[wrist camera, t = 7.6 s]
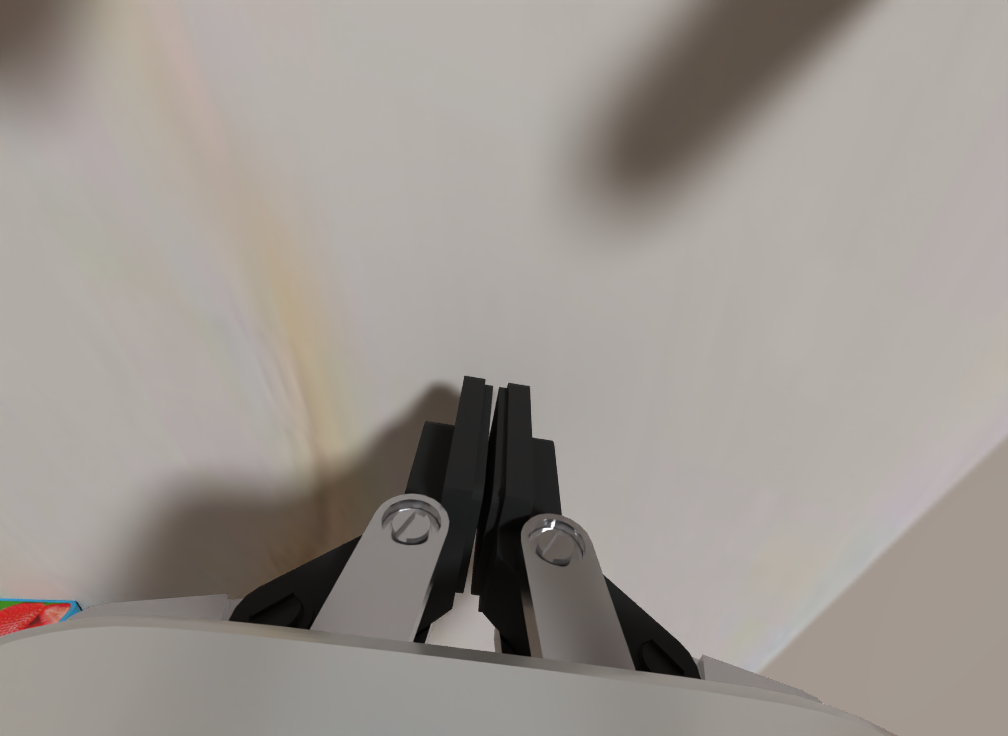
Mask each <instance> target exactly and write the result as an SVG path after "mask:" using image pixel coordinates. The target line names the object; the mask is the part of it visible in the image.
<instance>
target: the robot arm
mask: <svg viewBox="0 0 1008 736" xmlns="http://www.w3.org/2000/svg"><path fill="white" fill-rule="evenodd" d="M492 392H493V386H490V385H485V379H482V378H476V377H469V376H464V381H463V386H462V392H461V397H460V402H459V407H458V413H457V418H456V423H455V426H454V425H447V424H441V423H434V422H428V421H426V422H425V424H424V427H423V431H422V434H421V438H420V442H419V445H418V449H417V452H416V456H415V459H414V463H413V466H412V470H411V473H410V477H409V480H408V484H407V487H406V491H405V494H402V495H399V496H396V497H393V498H390V499H389V500H387V501H386V502H384V503H383V504H382V505H381V506H380V507H379V508H378V509H377V511H376V512H375V514H374V516H373V517H372V519H371V521H370V523H369V525H368V526H367V528H366V530H365V532H364V533H363V535H361V536H359V537H357V538H355V539H353V540H351V541H349V542H347V543H345V544H343V545H341V546H339V547H337V548H336V549H334V550H332V551H330V552H328V553H326V554H324V555H322V556H320V557H318V558H316V559H314V560H312V561H310V562H308V563H306V564H304V565H302V566H300V567H298V568H296V569H294V570H292V571H290V572H288V573H286V574H284V575H282V576H280V577H278V578H276V579H274V580H272V581H270V582H268V583H266V584H265V585H263V586H261V587H259V588H257V589H256V590H254V591H253V592H251V593H250V594H248V595H247V596H246V597H245V598H243V599H231V600H229V594H216V595H203V596H191V597H178V598H165V599H153V600H140V601H127V602H115V603H106V604H102V605H97V606H92V607H89V608H87V609H85V610H83V611H80V612H78V613H76V614H74V615H72V616H70V617H69V618H68V619H66V620H65V621H63V622H58V623H53V624H48V625H43V626H38V627H34V628H29V629H24V630H20V631H17V632H13V633H10V634H6V635H3V636H0V736H897V735H895V734H893V733H891V732H889V731H887V730H885V729H883V728H881V727H879V726H877V725H875V724H873V723H871V722H869V721H867V720H865V719H863V718H861V717H858V716H856V715H853V714H851V713H848V712H845V711H843V710H840V709H837V708H835V707H832V706H830V705H826V704H823V703H822V702H821V701H819V700H818V699H817V698H816V697H814V696H812V695H810V694H808V693H806V692H804V691H802V690H800V689H797V688H794V687H791V686H789V685H786V684H783V683H780V682H778V681H775V680H772V679H769V678H766V677H763V676H761V675H758V674H755V673H753V672H750V671H747V670H744V669H741V668H739V667H736V666H733V665H730V664H727V663H725V662H722V661H719V660H716V659H713V658H711V657H708V656H705V655H702V657H701V658H700V660H699V659H696V658H693V657H691V655H690V653H689V652H688V651H687V650H686V649H685V648H684V646H683V645H682V644H681V643H680V642H679V641H678V640H677V639H675V638H674V637H673V636H672V635H671V634H670V633H669V632H668V631H666V630H665V629H664V628H663V627H662V626H661V625H660V624H659V623H657V622H656V621H655V620H654V619H653V618H652V617H651V616H649V615H648V614H647V613H646V612H645V611H644V610H643V609H642V608H640V607H639V606H638V605H637V604H636V603H635V602H634V601H632V600H631V599H630V598H629V597H628V596H627V595H626V594H625V593H623V592H622V591H621V590H620V589H619V588H618V587H617V586H616V585H614V584H613V583H612V582H611V581H610V580H609V579H608V578H606V577H605V576H604V575H603V573H602V570H601V567H600V564H599V561H598V558H597V556H596V553H595V550H594V547H593V544H592V541H591V539H590V538H589V536H588V534H587V532H586V531H585V530H584V529H583V528H582V527H581V526H580V525H579V524H577V523H576V522H574V521H573V520H571V519H569V518H567V517H564V516H562V513H561V504H560V494H559V485H558V475H557V466H556V457H555V447H554V442H553V441H551V440H544V439H538V438H532V423H531V400H530V386H525V385H519V384H513V383H508V386H507V388H502V387H499V391H498V396H497V401H496V406H495V411H494V416H493V421H492V426H491V431H490V436H489V427H490V415H491V404H492ZM488 439H489V441H488ZM476 529H477V531H476ZM475 534H476V542H475V552H474V563H473V574H472V584H471V594H472V595H479V596H480V597H479V610H478V612H483V614H484V615H485V616H486V617H487V618H488V619H489V621H490V622H491V623H492V624H493V625H494V626H495V630H494V645H495V652H488V651H480V650H472V649H464V648H456V647H448V646H439V645H431V644H428V640H429V637H430V634H431V630H432V624H433V622H434V621H436V620H437V619H438V618H440V617H441V616H443V615H444V614H445V613H447V612H448V611H450V610H451V609H452V607H453V602H454V596H455V592H457V593H463V592H464V587H465V582H466V577H467V573H468V568H469V563H470V558H471V553H472V548H473V543H474V539H475Z"/></svg>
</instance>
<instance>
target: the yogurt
mask: <svg viewBox="0 0 1008 736" xmlns="http://www.w3.org/2000/svg"><path fill="white" fill-rule="evenodd" d="M80 611H81V609H80V608H79V606H78V605H77V603H76V601H63V600H31V599H0V636H3V635H6V634H10V633H13V632H17V631H20V630H24V629H29V628H34V627H38V626H43V625H48V624H53V623H58V622H63V621H65V620H66V619H68V618H69V617H70V616H72V615H74V614H76V613H78V612H80Z"/></svg>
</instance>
